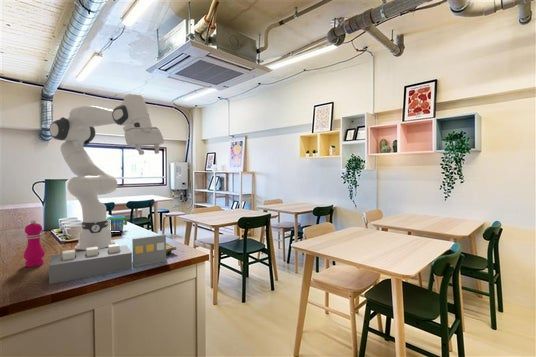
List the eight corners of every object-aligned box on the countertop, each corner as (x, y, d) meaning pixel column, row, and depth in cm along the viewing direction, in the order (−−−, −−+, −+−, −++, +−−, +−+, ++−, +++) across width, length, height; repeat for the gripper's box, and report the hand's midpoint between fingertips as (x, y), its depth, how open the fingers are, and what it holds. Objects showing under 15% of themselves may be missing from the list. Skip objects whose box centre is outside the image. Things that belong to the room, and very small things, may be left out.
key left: (63, 262, 114) (62, 251, 114) (75, 260, 116) (74, 249, 116) (62, 264, 111) (62, 253, 110) (75, 262, 113) (74, 251, 113)
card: (132, 264, 126) (131, 237, 126) (164, 258, 134) (164, 233, 134) (134, 267, 122) (133, 240, 122) (167, 261, 130) (166, 235, 129)
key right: (108, 255, 123) (108, 245, 123) (118, 253, 125) (118, 243, 125) (109, 257, 120) (109, 247, 119) (119, 255, 122) (119, 245, 122)
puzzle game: (158, 238, 155) (176, 245, 141) (158, 246, 155) (176, 254, 141) (136, 242, 146) (153, 250, 132) (136, 251, 146) (153, 260, 133)
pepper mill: (32, 262, 129) (30, 218, 128) (48, 261, 129) (47, 218, 128) (19, 267, 121) (17, 221, 121) (37, 267, 122) (35, 221, 121)
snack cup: (121, 228, 198) (121, 214, 197) (132, 230, 193) (131, 215, 192) (100, 233, 184) (99, 218, 183) (110, 235, 179) (110, 219, 178)
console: (51, 272, 116) (51, 255, 116) (127, 260, 132) (126, 245, 132) (49, 284, 104) (48, 265, 104) (132, 268, 120) (131, 252, 120)
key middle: (86, 258, 118) (86, 247, 118) (97, 256, 121) (97, 246, 121) (86, 261, 115) (86, 250, 115) (98, 259, 117) (98, 248, 117)
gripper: (154, 128, 148) (161, 154, 149) (119, 127, 130) (127, 156, 130) (162, 125, 145) (169, 151, 146) (128, 123, 127) (137, 153, 127)
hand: (149, 153), depth 138 cm, fingers open, 8 cm apart
